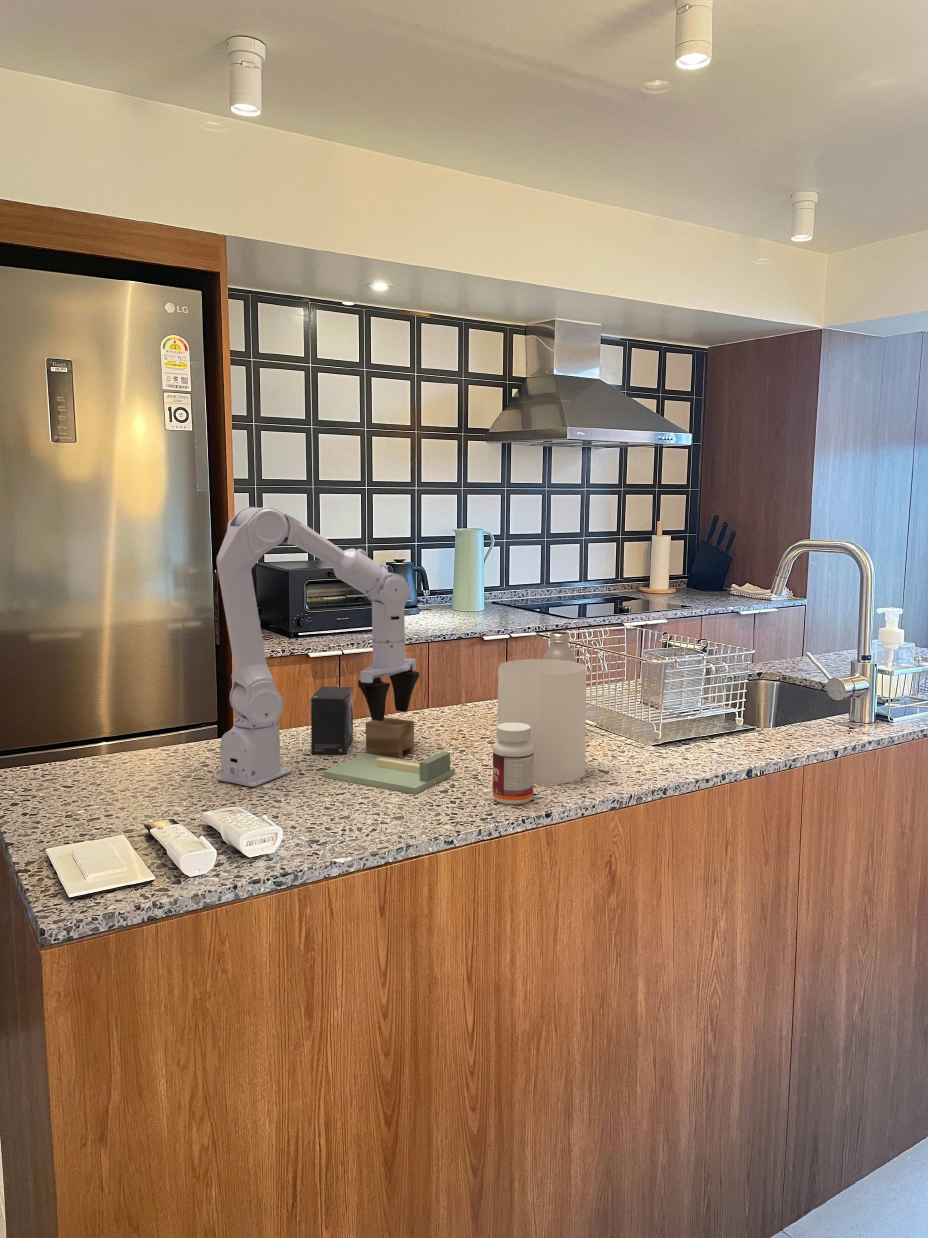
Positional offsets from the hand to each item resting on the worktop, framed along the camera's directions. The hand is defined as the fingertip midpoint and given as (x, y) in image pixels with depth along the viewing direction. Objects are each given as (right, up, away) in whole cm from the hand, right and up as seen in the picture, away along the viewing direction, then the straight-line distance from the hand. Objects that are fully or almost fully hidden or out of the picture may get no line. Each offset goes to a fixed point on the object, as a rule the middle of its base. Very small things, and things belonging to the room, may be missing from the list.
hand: (390, 715), depth 157 cm
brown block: (0, -7, +1) cm, 7 cm away
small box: (-11, -7, +6) cm, 14 cm away
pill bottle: (+21, -10, -23) cm, 33 cm away
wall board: (+1, -9, -12) cm, 15 cm away
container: (+26, -9, -9) cm, 29 cm away
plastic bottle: (+32, -5, +14) cm, 35 cm away
